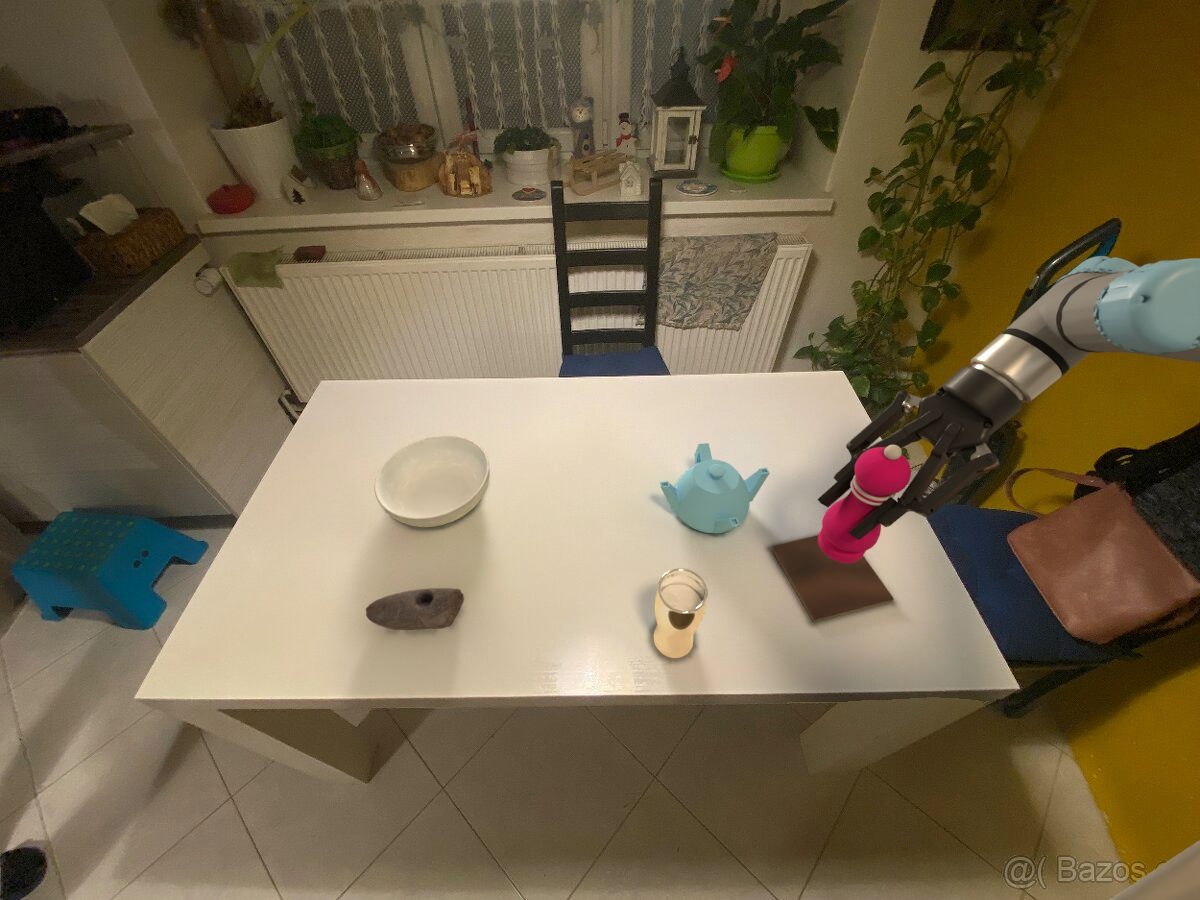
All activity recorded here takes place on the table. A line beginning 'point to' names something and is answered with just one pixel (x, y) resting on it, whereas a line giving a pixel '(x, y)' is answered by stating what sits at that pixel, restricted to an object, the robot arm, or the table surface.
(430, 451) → the serving bowl
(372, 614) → the perforated stone tool
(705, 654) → the table surface
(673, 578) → the beer glass
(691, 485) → the teapot
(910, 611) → the table surface
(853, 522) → the pepper mill
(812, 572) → the walnut board
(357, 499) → the table surface
